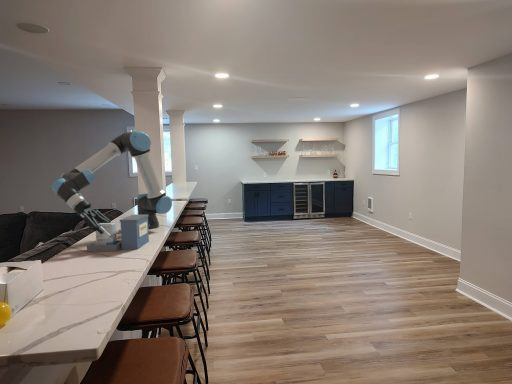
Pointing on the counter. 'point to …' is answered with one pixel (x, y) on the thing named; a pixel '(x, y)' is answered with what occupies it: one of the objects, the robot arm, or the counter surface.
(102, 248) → the tray
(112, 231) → the ink box
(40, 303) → the counter surface
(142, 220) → the housing unit
